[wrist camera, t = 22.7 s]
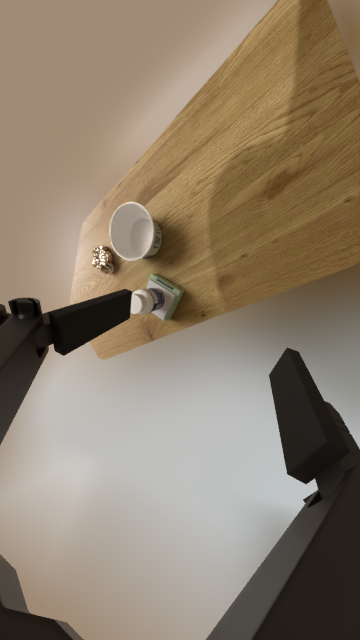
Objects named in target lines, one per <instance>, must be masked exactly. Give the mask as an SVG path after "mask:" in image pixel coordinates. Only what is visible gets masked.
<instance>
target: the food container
mask: <svg viewBox="0 0 360 640" xmlns="http://www.w3.org/2000/svg"><path fill="white" fill-rule="evenodd" d="M109 234H110V241H111V244H112V246H113V248H114V250H115V252H116V253H117V254H118V255H119V256H120V257H121V258H123V259H125V260H127V261H137V260H140V259H142V258H148V257H151V256H153V255H155V254H156V253H157V252H158V250H159V248H160V246H161V242H162V234H161V230H160V228H159V226H158V225H157V223H156V222H155V221H154V220H153V219H152V217H151V215H150V213H149V212H148V210H147V209H146V208H145V207H144V206H142V205H141V204H139V203H136V202H127V203H124V204H122V205H121V206H120V207H118V208H117V210H116V211H115V212H114V214H113V216H112V219H111V222H110V228H109Z"/></svg>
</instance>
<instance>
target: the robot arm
mask: <svg viewBox="0 0 360 640" xmlns="http://www.w3.org/2000/svg"><path fill="white" fill-rule="evenodd" d="M131 299H132V291H129V290H127V289H123V290H120V291H117V292H113V293H110V294H107V295H104V296H100V297H97V298H94V299H90V300H87V301H84V302H81V303H77V304H73V305H70V306H67V307H64V308H60V309H57V310H53V311H50V312H47V313H44V314H42V311H41V305H40V301H39V300H37V299H34V298H17V299H13V300H11V301H9V302H8V303H9V306H10V309H11V313H12V314H10V313H7V311H6V308H5V306H4V305H2V304H0V444H1V442H2V441H3V439H4V437H5V435H6V433H7V431H8V429H9V427H10V425H11V423H12V421H13V419H14V417H15V415H16V413H17V411H18V409H19V407H20V405H21V403H22V402H23V400H24V398H25V396H26V394H27V392H28V390H29V388H30V386H31V384H32V382H33V380H34V378H35V376H36V374H37V372H38V370H39V368H40V366H41V364H42V362H43V361H44V358H45V357H46V355H47V353H48V350H49V347H48V346H49V345H51V344H54V349H55V351H56V352H58V353H60V354H61V355H66V354H67V353H70V352H71V351H73V350H75V349H77V348H78V347H80V346H82V345H84V344H85V343H87V342H89V341H91V340H92V339H94V338H96V337H98V336H99V335H101V334H103V333H105V332H106V331H108V330H110V329H112V328H113V327H115V326H117V325H119V324H121V323H122V322H124V321H126V320H128V319H129V318H130V311H131ZM269 377H270V383H271V388H272V394H273V398H274V404H275V410H276V415H277V421H278V426H279V432H280V437H281V443H282V448H283V454H284V459H285V464H286V469H287V474H288V475H290V476H292V477H294V478H296V479H297V480H299V481H301V482H303V483H305V484H307V483H309V482H310V481H311V480H313V479H314V478H315V480H316V483H317V486H318V490H317V491H316V492H314V493H313V494H311V495H310V496H308V497H307V498H305V499H303V500H304V502H305V503H306V504H305V505H304V507H303V508H302V509H301V511H300V512H299V513H298V515H297V516H296V517H295V519H294V520H293V522H292V523H291V524H290V526H289V527H288V528H287V530H286V531H285V532H284V534H283V535H282V537H281V538H280V539H279V541H278V542H277V544H276V545H275V546H274V547H273V549H272V550H271V552H270V553H269V554H268V556H267V557H266V558H265V560H264V561H263V562H262V564H261V565H260V567H259V568H258V569H257V571H256V572H255V573H254V575H253V576H252V578H251V579H250V580H249V582H248V583H247V584H246V586H245V587H244V588H243V590H242V591H241V593H240V594H239V595H238V597H237V598H236V599H235V601H234V602H233V603H232V605H231V606H230V607H229V609H228V610H227V612H226V613H225V614H224V616H223V617H222V619H221V620H220V621H219V622H218V624H217V625H216V627H215V628H214V629H213V631H212V632H211V634H210V635H209V636H208V638H207V639H206V640H360V449H359V447H358V446H357V444H356V442H355V440H354V439H353V437H352V435H351V434H350V432H349V430H348V428H347V426H346V425H345V423H344V421H343V420H342V418H341V416H340V414H339V413H338V412H337V411H336V410H335V408H333V406H332V405H331V404H330V403H328V402H325V401H324V400H323V398H322V396H321V394H320V392H319V390H318V388H317V386H316V384H315V383H314V381H313V379H312V377H311V375H310V373H309V371H308V369H307V367H306V365H305V363H304V361H303V360H302V358H301V356H300V354H299V352H298V351H295V350H292V349H289V348H287V349H286V350H285V351H284V353H283V355H282V356H281V358H280V359H279V361H278V362H277V364H276V365H275V367H274V368H273V370H272V371H271V373H270V375H269ZM0 640H83V639H82V638H81V637H80V636H79V635H78V634H77V633H76V632H75V630H74V629H73V628H71V627H70V625H69V624H68V623H66V622H62V621H58V620H54V619H50V618H46V617H41V616H37V615H33V614H31V613H29V611H28V609H27V606H26V602H25V599H24V596H23V593H22V589H21V586H20V583H19V580H18V576H17V573H16V570H15V569H14V568H13V567H12V566H11V565H10V564H9V563H8V562H7V561H6V560H5V559H4V558H3V557H2V556H1V555H0Z"/></svg>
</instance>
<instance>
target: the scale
mask: <svg viewBox="0 0 360 640" xmlns="http://www.w3.org/2000/svg"><path fill="white" fill-rule="evenodd" d="M149 288H159V289H161V290H162V291H163V292H164V293H165V296H166V303H165V305H164V306H163V307H162V308H160V309H158V310H155V311H153V312H152V313H153V314H155V315H156V316H158V317H159V318H161V319H162V320H164V321H167V320H169V319H170V318H171V317H172V315H173V313H174V311H175V309H176V307H177V305H178V303H179V301H180V299H181V297H182V295H183V293H184V292H185V290H183V289H181V288H180V287H178V286H176V285H175V284H173V283H172V282H170V281H168V280H167V279H165V278H163V277H162V276H160V275H158V274H151V276H150V278H149V281H148V283H147V286H146V288H145V289H149Z"/></svg>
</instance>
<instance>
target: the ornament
mask: <svg viewBox="0 0 360 640" xmlns="http://www.w3.org/2000/svg"><path fill="white" fill-rule="evenodd" d="M94 249H95V250H92V252H93V255H94V257H93V260H94V261H92V265H93V266H94V267H97V269H100V270H101V271H102V272H105V274H110V273H112V272H113V271H114V267H113V266H114V265H113V264H111V263H112V255H111V253H110V252H108V251H106V250H107V248H105V246H104V245H102V246H100V247H97V248H94ZM106 265H110V266H106Z"/></svg>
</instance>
